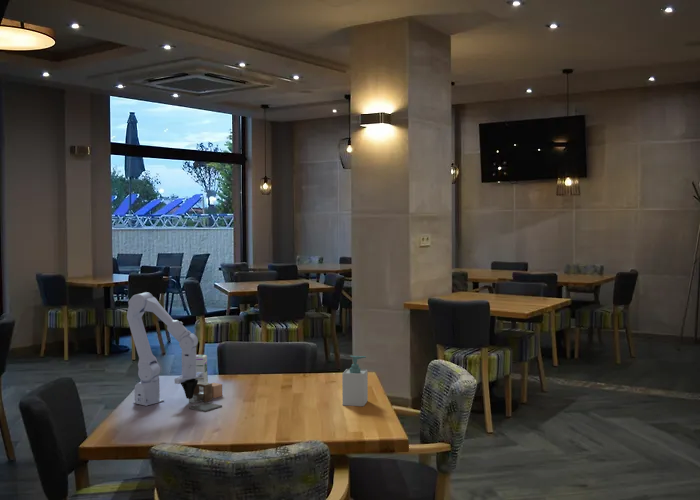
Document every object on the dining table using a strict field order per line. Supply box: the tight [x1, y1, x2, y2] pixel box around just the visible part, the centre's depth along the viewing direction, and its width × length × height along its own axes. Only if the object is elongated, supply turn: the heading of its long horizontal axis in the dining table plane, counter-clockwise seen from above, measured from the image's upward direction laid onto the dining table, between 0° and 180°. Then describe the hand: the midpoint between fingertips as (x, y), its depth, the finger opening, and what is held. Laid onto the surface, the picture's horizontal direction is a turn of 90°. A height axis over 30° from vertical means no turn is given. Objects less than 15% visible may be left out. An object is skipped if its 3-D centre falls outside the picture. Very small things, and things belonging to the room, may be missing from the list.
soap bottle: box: [341, 355, 369, 407], centre depth 287 cm, size 9×9×19 cm
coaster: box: [188, 401, 223, 413], centre depth 282 cm, size 9×9×1 cm
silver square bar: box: [188, 391, 204, 404], centre depth 294 cm, size 10×3×3 cm, turn 145°
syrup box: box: [195, 354, 209, 391], centre depth 313 cm, size 6×6×14 cm
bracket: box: [193, 381, 213, 403], centre depth 294 cm, size 4×8×7 cm, turn 56°
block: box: [211, 382, 223, 399], centre depth 300 cm, size 5×5×5 cm
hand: (189, 398), depth 289 cm, fingers closed
